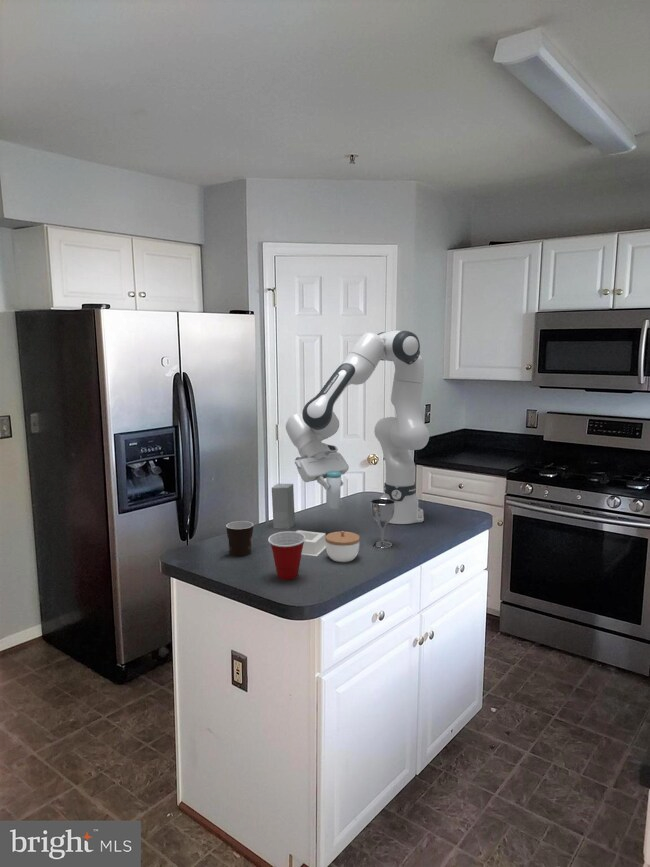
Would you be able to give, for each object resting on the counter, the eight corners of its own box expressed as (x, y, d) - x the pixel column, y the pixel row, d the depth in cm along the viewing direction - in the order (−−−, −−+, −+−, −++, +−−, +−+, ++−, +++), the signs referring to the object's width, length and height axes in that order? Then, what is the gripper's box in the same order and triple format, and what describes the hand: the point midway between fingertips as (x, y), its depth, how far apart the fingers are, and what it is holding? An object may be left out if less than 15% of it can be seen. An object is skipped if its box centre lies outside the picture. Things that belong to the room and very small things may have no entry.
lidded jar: (351, 552, 196) (351, 524, 195) (365, 564, 186) (365, 534, 185) (320, 556, 192) (320, 528, 191) (332, 568, 182) (332, 538, 181)
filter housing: (295, 542, 206) (295, 529, 205) (329, 546, 202) (329, 532, 201) (281, 554, 195) (281, 539, 194) (317, 558, 191) (317, 543, 190)
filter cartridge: (328, 504, 209) (329, 470, 207) (342, 505, 207) (342, 471, 205) (324, 507, 204) (324, 472, 202) (337, 509, 203) (338, 474, 201)
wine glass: (377, 539, 210) (378, 497, 207) (398, 543, 205) (399, 500, 203) (365, 545, 203) (366, 501, 201) (386, 550, 199) (387, 505, 196)
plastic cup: (261, 580, 173) (260, 539, 171) (279, 567, 183) (278, 529, 181) (295, 586, 169) (295, 545, 167) (312, 573, 179) (311, 533, 177)
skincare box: (290, 531, 219) (289, 488, 216) (270, 529, 220) (270, 487, 218) (295, 524, 227) (295, 482, 224) (277, 523, 228) (277, 482, 226)
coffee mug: (246, 561, 188) (245, 530, 186) (221, 558, 191) (220, 527, 189) (262, 549, 199) (262, 520, 197) (239, 546, 202) (238, 517, 200)
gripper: (297, 452, 200) (317, 486, 195) (339, 445, 215) (359, 476, 209) (287, 463, 204) (308, 497, 199) (330, 456, 219) (349, 487, 213)
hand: (334, 486), depth 204 cm, fingers closed on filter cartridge, 5 cm apart
